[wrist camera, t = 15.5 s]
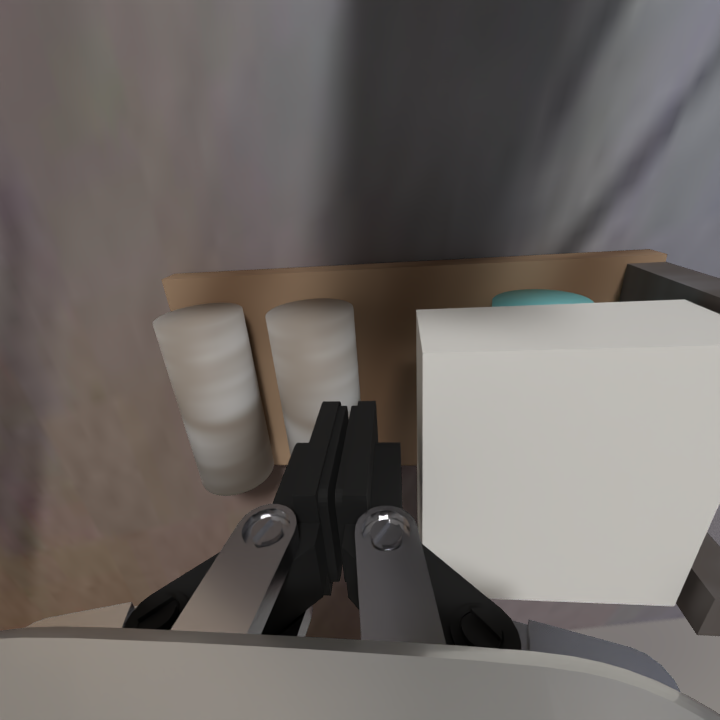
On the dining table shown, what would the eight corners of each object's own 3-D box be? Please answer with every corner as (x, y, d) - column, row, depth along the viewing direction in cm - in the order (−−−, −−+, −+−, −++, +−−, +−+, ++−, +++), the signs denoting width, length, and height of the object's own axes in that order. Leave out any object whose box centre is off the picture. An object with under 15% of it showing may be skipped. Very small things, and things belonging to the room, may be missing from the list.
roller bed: (649, 249, 14) (930, 327, 6) (600, 451, 17) (742, 643, 10) (175, 273, 16) (-15, 354, 8) (223, 451, 19) (120, 612, 12)
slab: (684, 299, 10) (789, 343, 7) (618, 520, 13) (674, 606, 11) (416, 309, 11) (422, 352, 8) (417, 516, 14) (422, 595, 12)
